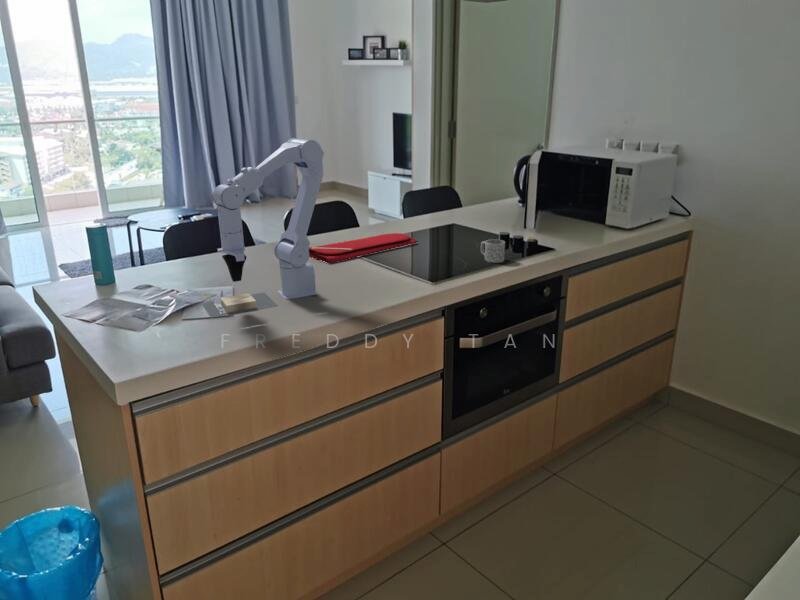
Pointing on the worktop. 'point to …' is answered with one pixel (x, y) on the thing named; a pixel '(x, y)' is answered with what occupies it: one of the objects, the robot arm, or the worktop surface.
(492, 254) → the mug
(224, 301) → the maple tile
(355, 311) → the worktop surface
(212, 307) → the rubber mat
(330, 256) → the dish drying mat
